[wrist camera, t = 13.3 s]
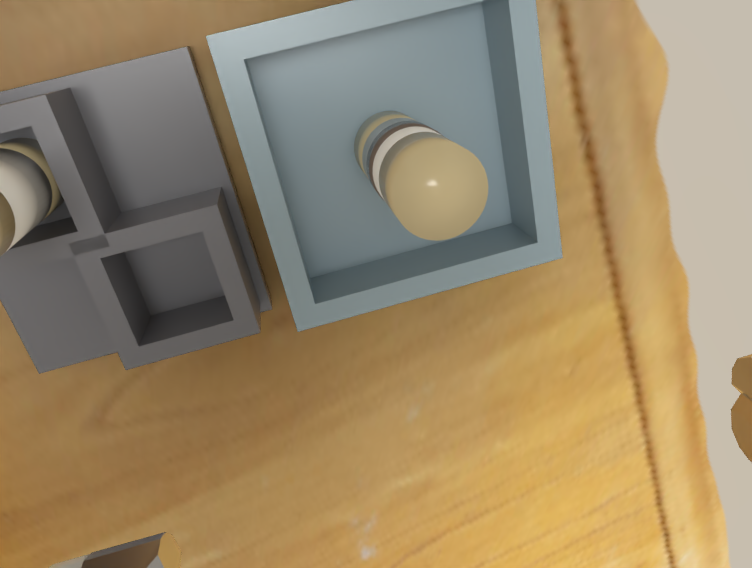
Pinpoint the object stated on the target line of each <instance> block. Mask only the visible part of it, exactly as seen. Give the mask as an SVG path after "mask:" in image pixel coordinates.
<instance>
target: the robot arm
mask: <svg viewBox="0 0 752 568" xmlns="http://www.w3.org/2000/svg"><path fill="white" fill-rule="evenodd" d="M732 385H733V386H734V387H735V388H736V389H737V390H738V391H739V392H740V393H741V395H740V396H739V398H738V399H737V401H736V402H735V404H734V406H733V407H732V409H731V420H732V430H733V433H734V435H735V438H736V440H737V442H738V445H739V447H740V448H741V450H742V451H743V452H744V454H745V455H746V456H747V458H748V459H749V460H750V461H751V462H752V354H751V355H748V356H744V357H741V358H738V359H737V360H736V362H735V364H734V367H733V368H732ZM181 555H182V552H181V550H180V548H179V546H178V545H177V543H176V541H175V539H174V537H173V535H172V534H169V533H167V532H164V533H161V534H157V535H153V536H150V537H146V538H143V539H139V540H136V541H132V542H128V543H125V544H121V545H118V546H114V547H111V548H107V549H103V550H100V551H96V552H93V553H91V554H90V555H84V556H80V557H77V558H74V559H70V560H67V561H63V562H60V563H56V564H53V565H51V566H50V567H49V568H180V563H181Z"/></svg>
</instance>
